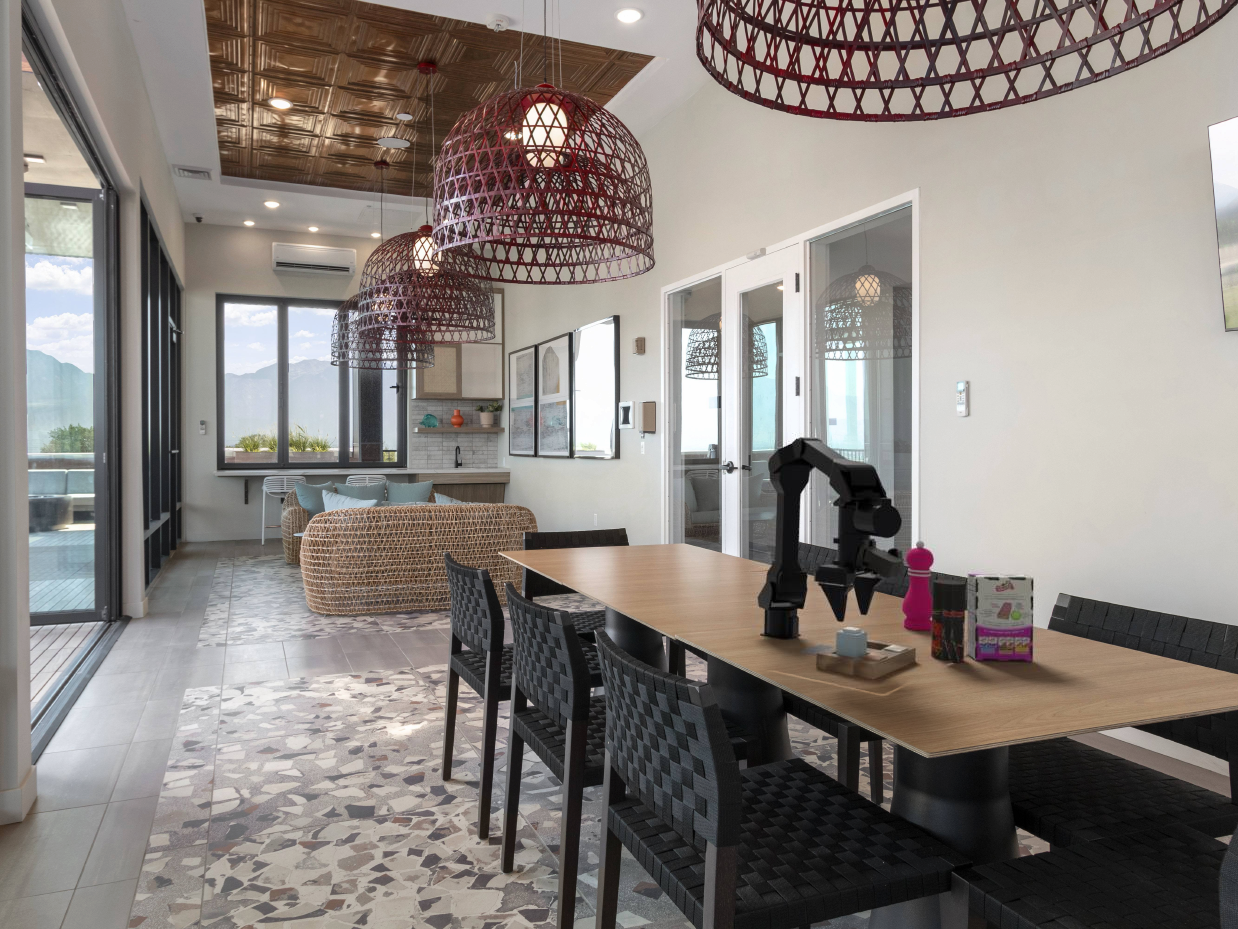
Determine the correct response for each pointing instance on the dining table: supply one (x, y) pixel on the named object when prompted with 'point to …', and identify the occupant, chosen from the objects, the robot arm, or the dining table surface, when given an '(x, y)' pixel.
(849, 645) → the plug
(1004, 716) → the dining table surface
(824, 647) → the pad
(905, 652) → the socket block
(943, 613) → the deodorant
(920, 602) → the pepper mill
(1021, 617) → the candy bar box
